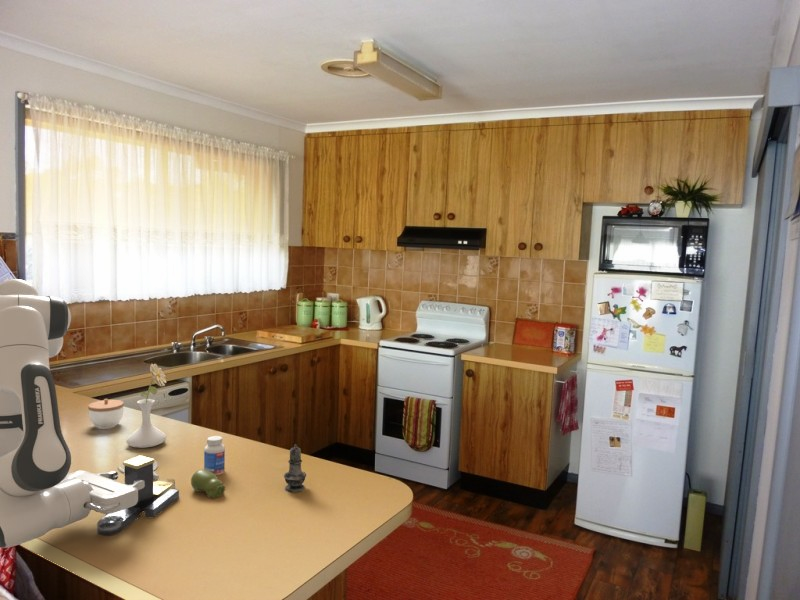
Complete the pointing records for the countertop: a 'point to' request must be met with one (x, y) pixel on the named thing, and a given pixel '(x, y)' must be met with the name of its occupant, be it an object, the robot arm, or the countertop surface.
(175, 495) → the grey metal bars
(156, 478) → the pliers
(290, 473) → the salt shaker
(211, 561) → the countertop surface
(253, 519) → the countertop surface
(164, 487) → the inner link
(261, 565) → the countertop surface
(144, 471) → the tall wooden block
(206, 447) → the pill bottle
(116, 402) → the lidded jar
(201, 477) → the pear
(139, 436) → the flower in vase
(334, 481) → the countertop surface
